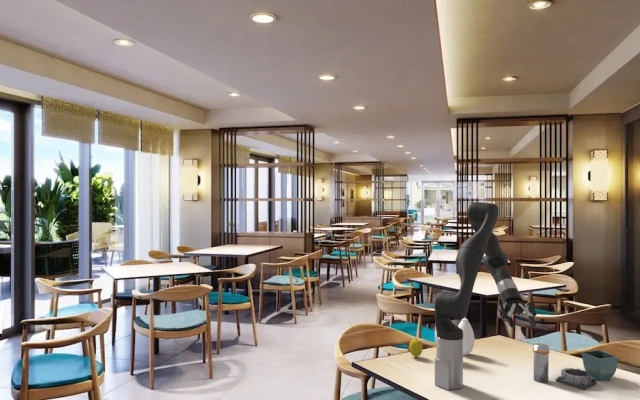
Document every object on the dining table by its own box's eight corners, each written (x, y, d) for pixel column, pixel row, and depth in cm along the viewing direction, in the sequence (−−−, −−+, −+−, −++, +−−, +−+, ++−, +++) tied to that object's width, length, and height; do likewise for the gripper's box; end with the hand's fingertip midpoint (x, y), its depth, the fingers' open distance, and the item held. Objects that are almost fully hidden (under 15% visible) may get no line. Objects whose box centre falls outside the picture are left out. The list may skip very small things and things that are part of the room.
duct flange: (584, 390, 170) (584, 379, 170) (555, 381, 178) (555, 371, 178) (596, 383, 177) (596, 373, 177) (568, 375, 185) (568, 366, 185)
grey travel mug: (544, 384, 176) (544, 348, 176) (529, 379, 180) (530, 344, 180) (552, 381, 179) (552, 345, 179) (537, 376, 184) (537, 342, 184)
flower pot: (599, 383, 177) (599, 358, 177) (580, 375, 186) (580, 351, 186) (618, 381, 180) (619, 357, 180) (599, 373, 188) (599, 349, 188)
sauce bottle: (477, 354, 209) (477, 313, 209) (467, 358, 204) (467, 315, 204) (461, 350, 215) (462, 309, 215) (451, 354, 210) (451, 312, 210)
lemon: (413, 354, 209) (413, 335, 209) (424, 357, 206) (424, 338, 206) (406, 357, 205) (406, 338, 205) (418, 360, 201) (418, 341, 201)
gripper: (495, 287, 199) (510, 322, 188) (528, 286, 201) (544, 321, 190) (489, 297, 204) (503, 332, 193) (521, 297, 206) (536, 331, 195)
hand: (523, 326), depth 191 cm, fingers open, 8 cm apart
